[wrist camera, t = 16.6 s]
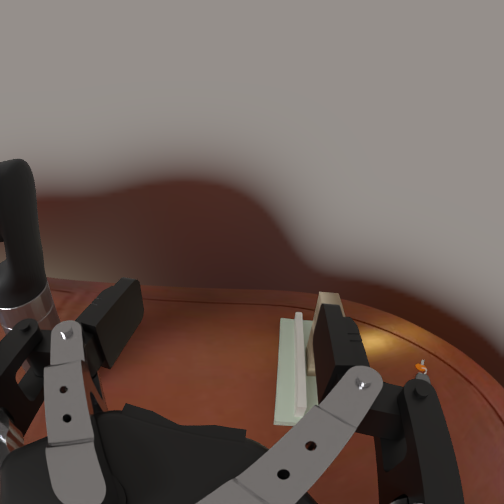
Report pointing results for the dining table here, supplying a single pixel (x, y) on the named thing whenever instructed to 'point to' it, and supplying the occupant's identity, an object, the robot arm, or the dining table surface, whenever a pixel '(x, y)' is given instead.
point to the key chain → (420, 375)
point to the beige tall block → (322, 298)
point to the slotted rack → (293, 373)
